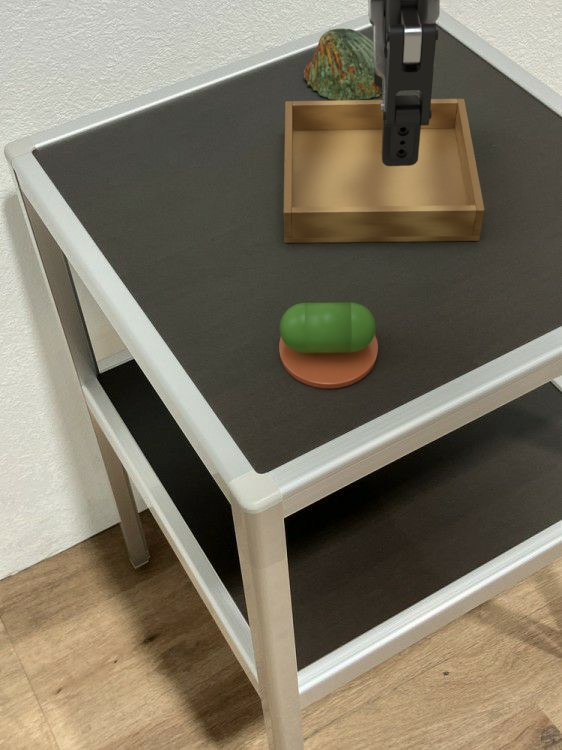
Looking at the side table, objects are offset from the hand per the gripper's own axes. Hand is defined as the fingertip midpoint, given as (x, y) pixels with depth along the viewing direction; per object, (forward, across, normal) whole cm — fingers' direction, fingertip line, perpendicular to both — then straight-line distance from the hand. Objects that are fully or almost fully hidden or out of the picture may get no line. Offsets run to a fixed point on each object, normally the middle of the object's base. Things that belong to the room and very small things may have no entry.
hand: (394, 121), depth 63 cm
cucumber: (+21, -1, +4) cm, 21 cm away
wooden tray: (+21, +20, -1) cm, 29 cm away
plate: (+21, -1, +4) cm, 22 cm away
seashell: (+21, +38, +1) cm, 43 cm away
